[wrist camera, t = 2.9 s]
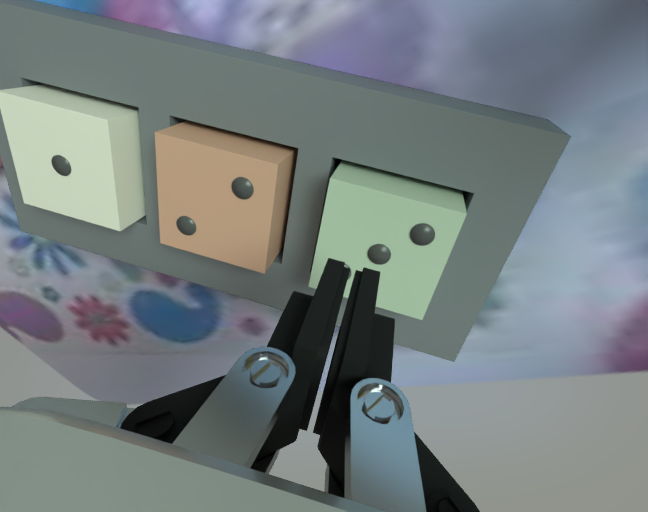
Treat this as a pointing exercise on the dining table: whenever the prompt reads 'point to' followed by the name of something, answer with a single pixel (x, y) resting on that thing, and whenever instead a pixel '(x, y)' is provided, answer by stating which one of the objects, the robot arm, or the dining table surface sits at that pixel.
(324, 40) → the dining table surface
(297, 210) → the panel
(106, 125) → the button one
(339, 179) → the button three
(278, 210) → the button two
